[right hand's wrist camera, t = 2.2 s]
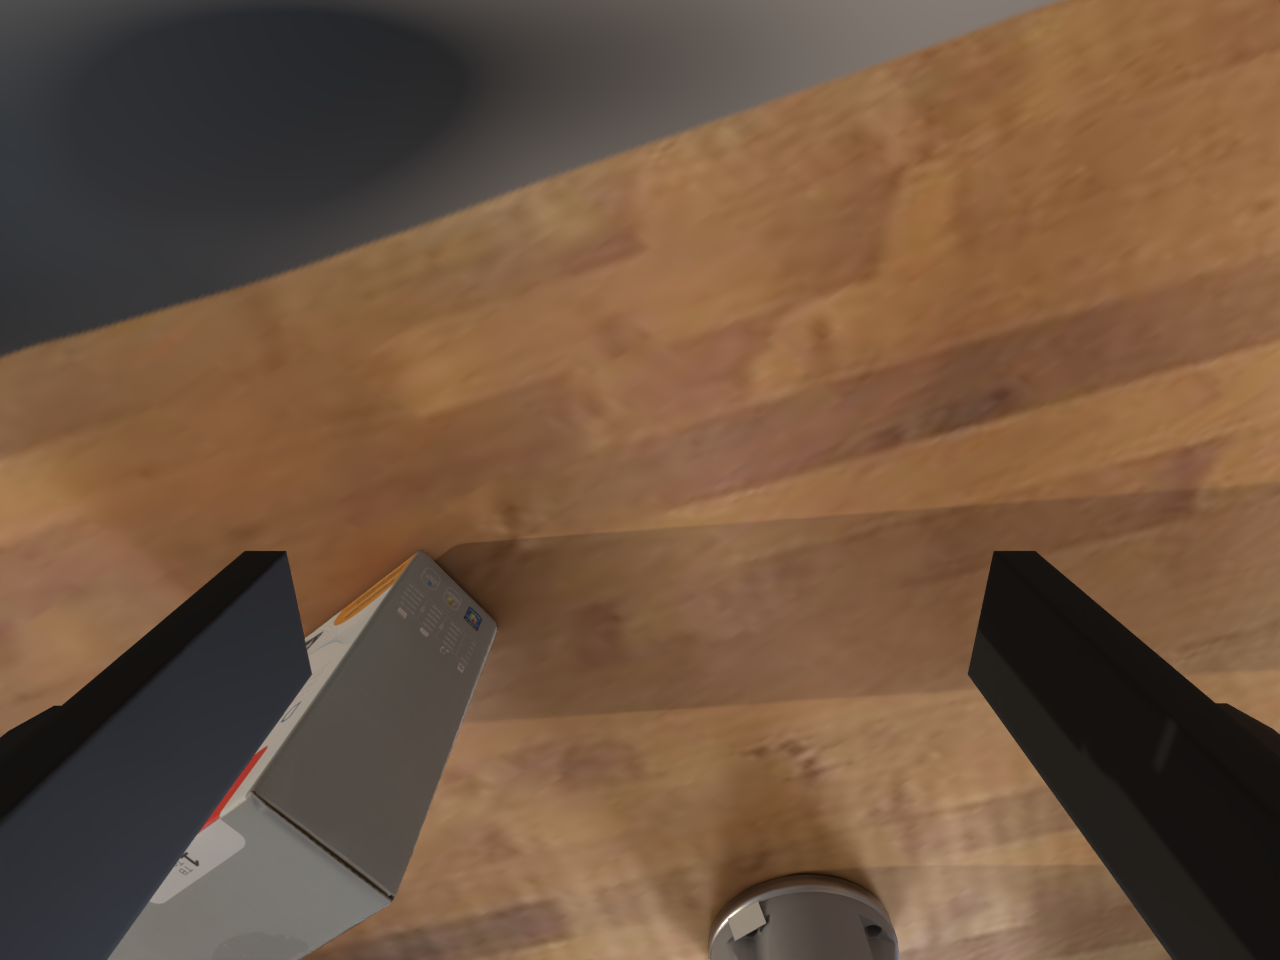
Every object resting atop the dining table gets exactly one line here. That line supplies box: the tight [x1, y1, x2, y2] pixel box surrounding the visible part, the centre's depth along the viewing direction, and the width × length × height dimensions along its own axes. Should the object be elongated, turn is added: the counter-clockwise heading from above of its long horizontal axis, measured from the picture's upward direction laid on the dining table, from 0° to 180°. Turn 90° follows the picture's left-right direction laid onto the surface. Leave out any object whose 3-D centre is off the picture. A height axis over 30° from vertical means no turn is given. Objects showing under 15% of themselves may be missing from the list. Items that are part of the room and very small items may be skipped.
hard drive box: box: [107, 551, 498, 960], centre depth 37 cm, size 16×8×20 cm, turn 128°
